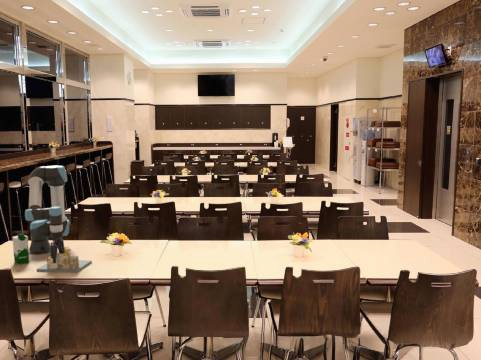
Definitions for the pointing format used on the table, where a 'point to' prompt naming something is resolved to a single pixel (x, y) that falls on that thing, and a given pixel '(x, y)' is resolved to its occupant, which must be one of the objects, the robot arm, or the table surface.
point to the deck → (81, 265)
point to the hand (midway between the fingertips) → (58, 265)
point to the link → (64, 262)
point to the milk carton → (21, 249)
